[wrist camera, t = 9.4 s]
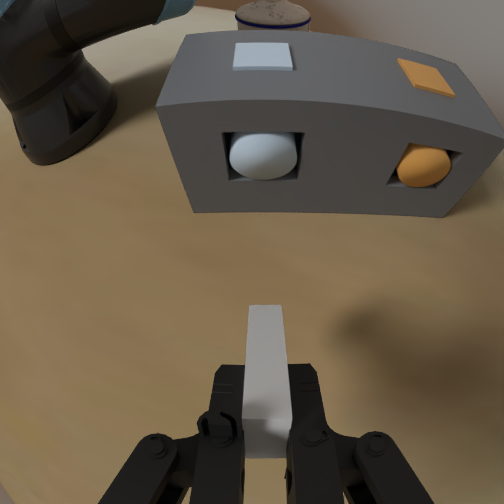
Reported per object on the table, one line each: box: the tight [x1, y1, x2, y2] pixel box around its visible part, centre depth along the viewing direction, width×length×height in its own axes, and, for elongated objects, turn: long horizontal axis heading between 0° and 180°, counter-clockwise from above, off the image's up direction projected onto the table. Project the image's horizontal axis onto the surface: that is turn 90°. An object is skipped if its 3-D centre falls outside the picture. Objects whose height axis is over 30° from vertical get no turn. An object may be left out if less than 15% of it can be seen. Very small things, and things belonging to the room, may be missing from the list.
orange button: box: [396, 143, 451, 187], centre depth 19 cm, size 4×4×4 cm
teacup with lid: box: [235, 0, 311, 32], centre depth 29 cm, size 12×9×12 cm
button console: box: [155, 30, 504, 218], centre depth 21 cm, size 10×24×12 cm, turn 89°
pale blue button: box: [230, 132, 297, 180], centre depth 19 cm, size 4×4×4 cm
